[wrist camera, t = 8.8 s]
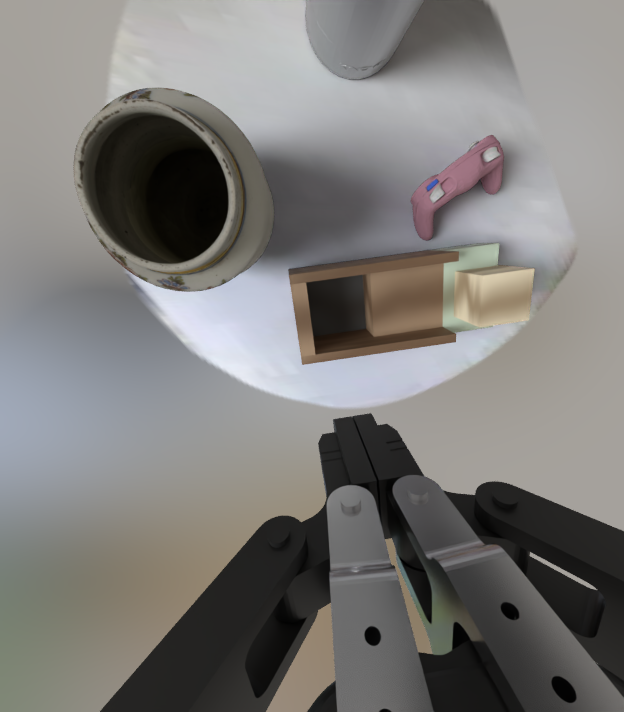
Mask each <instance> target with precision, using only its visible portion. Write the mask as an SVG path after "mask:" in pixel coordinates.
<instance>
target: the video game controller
mask: <svg viewBox="0 0 624 712" xmlns="http://www.w3.org/2000/svg"><path fill="white" fill-rule="evenodd" d="M503 161H504V154H503V150H502V148H501V146H500V143H499V142H498V140H497V139H496V138H495V137H494V136H493V135H490V136H487V137H486V138H484V139H483V140H481V141H480V142H479V141H476V142H474V143H472V144H471V145H470V147H469V149H468V151H467V153H466V154H464V155H463V156H462V157H460V158H459V159H458V160H456V161H455V162H454V163H452V164H451V165H450V166H448V167H447V168H446V169H445V170H444V171H442V172H441V173H440V174H437V175H434V176H432V177H430V178H429V179H427V180H426V181H425V182H424V183H422V184H421V185H420V186H419V188H418V189H417V190H416V191H415V192H414V194H413V195H412V197H411V203H412V205H413V219H414V224H415V228H416V230H417V233H418V235H419V236H420V237H421V238H422V239H423V240H426V241H427V240H430V239H431V238H432V235H433V219H434V213H435V211H436V210H438V209H439V208H440V207H442V206H443V205H445V204H446V203H447V202H449V201H450V200H451V199H452V198H454V197H455V196H458V195H460V194H462V193H464V192H466V191H468V190H469V189H471V188H472V187H473V186H474V185H475V184H476V183H477V182H478V181H479V180H480V178H481V183H482V185H483V188H484V190H485V191H486V192H487V193H488V194H495V193H496V192H497V191H498V190H499V189H500V187H501V183H502V170H503Z"/></svg>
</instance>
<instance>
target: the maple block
mask: <svg viewBox="0 0 624 712" xmlns="http://www.w3.org/2000/svg"><path fill="white" fill-rule="evenodd" d="M534 270H535V268H526V267H515V266H505V265H497V266H490V267H483V268H476V269H469V270H462V271H455V290H454V317H456V318H458V319H461V320H463V321H465V322H468V323H470V324H472V325H475V326H477V327H479V328H480V327H487V326H493V325H500V324H507V323H514V322H520V321H527V320H529V313H530V304H531V296H532V287H533V279H534Z"/></svg>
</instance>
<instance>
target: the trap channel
mask: <svg viewBox="0 0 624 712" xmlns="http://www.w3.org/2000/svg"><path fill="white" fill-rule="evenodd" d="M498 253H499V243H477V244H470V245H462V246H455V247H448V248H441V249H433V250H426V251H419V252H412V253H404V254H397V255H390V256H383V257H375V258H368V259H361V260H354V261H346V262H339V263H332V264H325V265H318V266H310V267H303V268H296V269H289V270H288V271H289V278H290V285H291V292H292V298H293V305H294V312H295V319H296V325H297V332H298V339H299V346H300V352H301V359H302V365H304V364H311V363H317V362H324V361H331V360H338V359H344V358H351V357H358V356H365V355H371V354H378V353H385V352H391V351H398V350H405V349H412V348H418V347H425V346H432V345H439V344H445V343H452V342H456V334H455V332H461V331H468V330H475V329H482V328H489V327H493V326H487V327H480V328H479V327H477V326H475V325H472V324H470V323H468V322H465V321H463V320H461V319H458V318H456V317H454V290H455V271H462V270H469V269H476V268H483V267H490V266H497V265H498Z"/></svg>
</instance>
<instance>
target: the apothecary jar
mask: <svg viewBox="0 0 624 712" xmlns="http://www.w3.org/2000/svg"><path fill="white" fill-rule="evenodd" d="M74 180H75V186H76V191H77V195H78V198H79V201H80V204H81V206H82V209H83V211H84V213H85V215H86V218H87V220H88V222H89V225H90V227H91V228H92V230H93V232H94V234H95V235H96V237H97V238H98V240H99V241H100V243H101V244H102V245H103V247H104V248H105V249H106V250H107V252H108V253H109V254H110V255H111V256H112V257H113V258H114V259H115V260H116V261H117V262H118V263H119V264H121V265H122V266H123V267H124V268H125V269H127V270H128V271H130V272H131V273H132V274H134V275H135V276H137V277H139V278H141V279H142V280H144V281H146V282H149V283H151V284H153V285H156V286H158V287H162V288H165V289H170V290H175V291H188V292H190V291H202V290H207V289H211V288H215V287H217V286H220V285H222V284H224V283H226V282H228V281H230V280H231V279H233V278H235V277H236V276H237V275H239V274H240V273H242V272H244V271H245V270H247V269H248V268H250V267H251V266H252V265H253V264H254V263H255V262H256V261H257V260H258V259H259V258H260V257H261V255H262V254H263V252H264V251H265V249H266V247H267V245H268V243H269V240H270V237H271V233H272V229H273V223H274V206H273V199H272V195H271V191H270V188H269V186H268V183H267V181H266V179H265V175H264V172H263V169H262V166H261V164H260V161H259V159H258V157H257V155H256V153H255V151H254V149H253V147H252V146H251V144H250V142H249V141H248V139H247V138H246V136H245V135H244V134H243V132H242V131H241V130H240V129H239V128H238V126H237V125H236V124H235V123H234V122H233V121H232V120H231V119H230V118H229V117H228V116H227V115H225V114H224V113H223V112H222V111H220V110H219V109H218V108H216V107H215V106H213V105H212V104H210V103H209V102H207V101H205V100H203V99H201V98H199V97H197V96H195V95H192V94H189V93H186V92H182V91H179V90H174V89H168V88H145V89H139V90H135V91H132V92H129V93H127V94H124V95H122V96H120V97H118V98H116V99H115V100H113V101H112V102H110V103H109V104H107V105H106V106H105V107H104V108H103V109H102V110H101V111H100V112H99V113H98V114H97V115H96V116H94V118H93V119H92V120H91V121H90V122H89V123H88V124H87V126H86V127H85V129H84V130H83V132H82V134H81V136H80V138H79V140H78V143H77V146H76V150H75V155H74Z"/></svg>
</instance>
